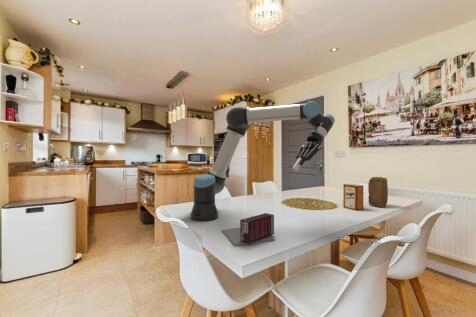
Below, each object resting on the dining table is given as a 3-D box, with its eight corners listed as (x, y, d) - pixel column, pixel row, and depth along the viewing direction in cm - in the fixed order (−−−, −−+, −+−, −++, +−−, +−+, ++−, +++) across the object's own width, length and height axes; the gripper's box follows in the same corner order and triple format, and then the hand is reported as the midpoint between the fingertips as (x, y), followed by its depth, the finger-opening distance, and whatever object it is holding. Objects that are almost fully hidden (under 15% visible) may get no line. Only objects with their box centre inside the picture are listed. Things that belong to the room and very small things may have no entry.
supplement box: (265, 212, 96) (239, 219, 85) (274, 214, 92) (248, 221, 82) (266, 232, 96) (239, 241, 85) (274, 234, 92) (248, 244, 82)
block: (388, 207, 146) (389, 177, 146) (380, 208, 143) (381, 178, 143) (374, 204, 156) (374, 176, 156) (366, 204, 154) (366, 176, 153)
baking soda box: (343, 207, 145) (343, 183, 145) (349, 206, 148) (350, 183, 148) (356, 210, 136) (356, 185, 136) (363, 209, 139) (363, 184, 139)
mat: (221, 231, 98) (221, 229, 98) (255, 227, 104) (255, 225, 104) (234, 246, 81) (234, 244, 81) (274, 240, 87) (274, 239, 87)
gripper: (330, 141, 110) (309, 175, 101) (309, 142, 121) (288, 173, 112) (324, 130, 107) (302, 164, 98) (303, 132, 118) (281, 163, 109)
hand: (294, 169), depth 105 cm, fingers closed
